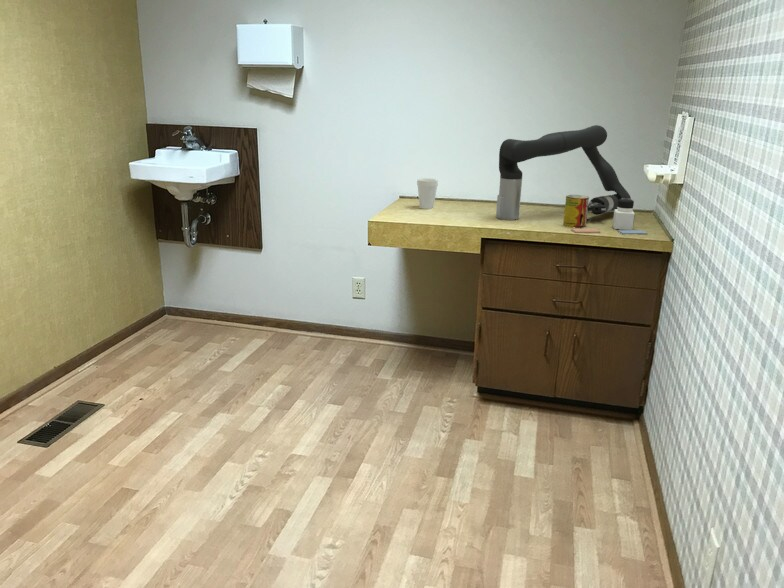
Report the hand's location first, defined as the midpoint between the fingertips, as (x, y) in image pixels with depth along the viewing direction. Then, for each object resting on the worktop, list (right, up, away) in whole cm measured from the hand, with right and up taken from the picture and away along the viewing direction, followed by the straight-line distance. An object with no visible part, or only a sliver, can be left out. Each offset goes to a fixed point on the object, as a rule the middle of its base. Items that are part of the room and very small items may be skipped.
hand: (581, 209), depth 268 cm
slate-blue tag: (+16, -11, -14) cm, 24 cm away
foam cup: (-63, +4, +29) cm, 70 cm away
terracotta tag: (-2, -10, -13) cm, 17 cm away
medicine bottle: (+15, -9, -5) cm, 18 cm away
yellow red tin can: (-4, -7, -2) cm, 8 cm away
